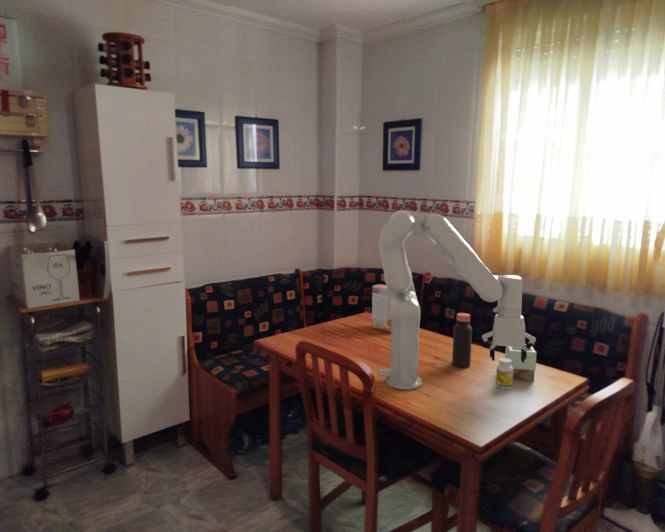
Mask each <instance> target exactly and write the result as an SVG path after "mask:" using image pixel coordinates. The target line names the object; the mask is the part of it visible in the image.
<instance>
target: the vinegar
mask: <svg viewBox="0 0 665 532" xmlns="http://www.w3.org/2000/svg"><path fill="white" fill-rule="evenodd" d="M470 322H471V314H470V313H468V312H467V313H466V312H458V313H456V324H455V325H454V326H453V335H452V336H453V338H452V339H453V340H452V357H451V358H452V360H451V362H452V363H451V364H452V365H453V366H454V367H458V368H469V367H470V366H471V360H472V359H471V357H472V356H471V355H472V340H473V336H472V335H473V327H472V326H471V324H470Z"/></svg>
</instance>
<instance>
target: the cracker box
mask: <svg viewBox="0 0 665 532" xmlns="http://www.w3.org/2000/svg"><path fill="white" fill-rule="evenodd" d="M371 287H372V289H371V290H372V293H371V295H372V298H371V299H372V300H371V306H372V307H371V328H372V329H375V330H379V331H382V332H383V331H384V332H387V333H391V320H392V316H391V312H392V311H391V301H390V297H389V293H388V289H387V285H386V284H381V283H379V284H375V285H372V286H371Z"/></svg>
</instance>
